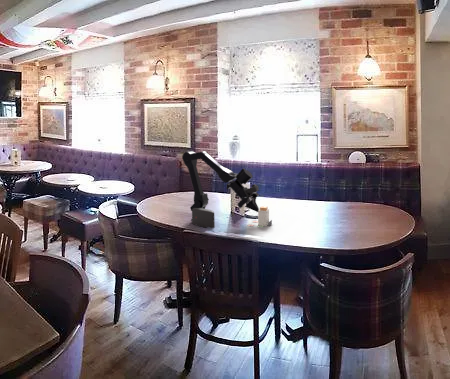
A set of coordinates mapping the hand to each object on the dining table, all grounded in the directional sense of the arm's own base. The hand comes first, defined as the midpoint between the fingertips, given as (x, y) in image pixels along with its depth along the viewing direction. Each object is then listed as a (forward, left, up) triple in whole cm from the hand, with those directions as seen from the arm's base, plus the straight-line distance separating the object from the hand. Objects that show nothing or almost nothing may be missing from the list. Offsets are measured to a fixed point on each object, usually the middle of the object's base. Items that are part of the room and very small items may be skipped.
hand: (259, 211), depth 213 cm
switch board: (-1, -1, -8) cm, 8 cm away
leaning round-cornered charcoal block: (-15, -26, -8) cm, 31 cm away
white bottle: (+2, +2, -7) cm, 7 cm away
